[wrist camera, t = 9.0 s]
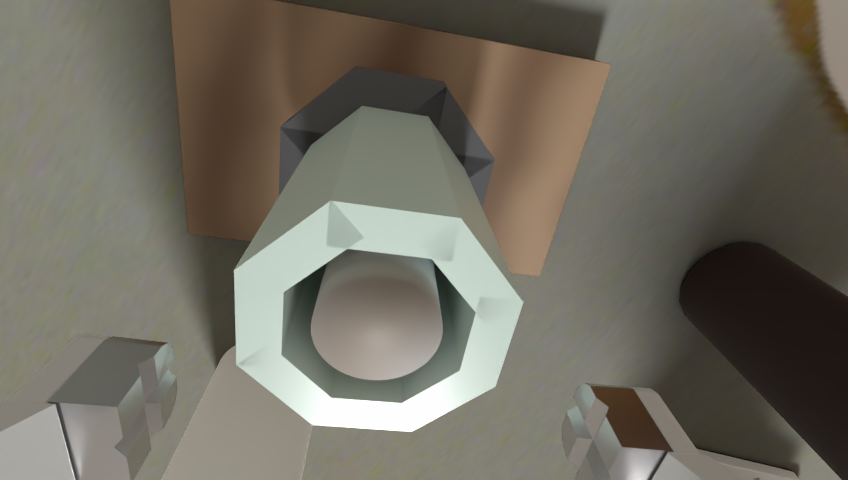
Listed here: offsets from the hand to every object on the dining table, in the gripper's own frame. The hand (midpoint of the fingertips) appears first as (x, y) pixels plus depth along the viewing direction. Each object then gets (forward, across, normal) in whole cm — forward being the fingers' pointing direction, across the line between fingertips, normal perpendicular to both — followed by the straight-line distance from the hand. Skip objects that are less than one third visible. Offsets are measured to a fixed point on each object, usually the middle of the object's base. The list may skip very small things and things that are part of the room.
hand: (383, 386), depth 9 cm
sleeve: (+11, 0, 0) cm, 11 cm away
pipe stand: (+17, 0, 0) cm, 17 cm away
